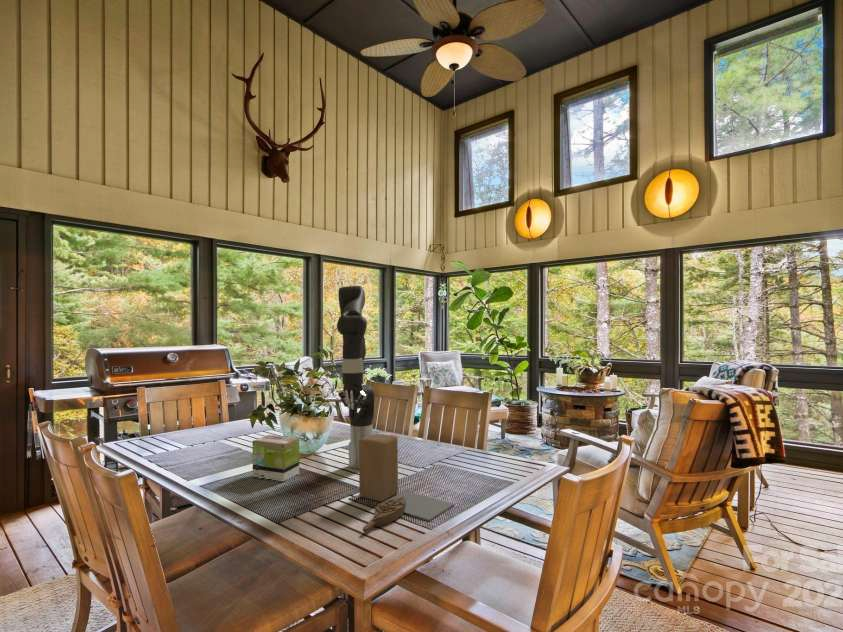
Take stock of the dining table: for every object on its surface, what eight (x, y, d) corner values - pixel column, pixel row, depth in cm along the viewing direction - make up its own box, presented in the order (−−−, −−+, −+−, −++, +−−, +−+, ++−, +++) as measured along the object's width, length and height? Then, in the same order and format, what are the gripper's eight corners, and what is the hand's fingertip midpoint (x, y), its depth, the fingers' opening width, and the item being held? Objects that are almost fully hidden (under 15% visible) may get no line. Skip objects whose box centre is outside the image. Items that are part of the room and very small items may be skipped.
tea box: (251, 478, 174) (251, 440, 174) (268, 470, 183) (268, 434, 183) (284, 483, 168) (283, 443, 169) (300, 474, 178) (299, 436, 178)
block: (381, 503, 148) (381, 442, 149) (358, 497, 154) (357, 438, 154) (399, 493, 157) (398, 435, 157) (376, 488, 162) (375, 432, 162)
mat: (378, 506, 146) (378, 504, 146) (405, 492, 157) (405, 490, 157) (429, 521, 134) (429, 519, 134) (454, 505, 146) (454, 503, 146)
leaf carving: (354, 532, 128) (353, 523, 128) (392, 501, 148) (392, 493, 148) (376, 537, 125) (376, 527, 125) (412, 505, 144) (412, 496, 144)
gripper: (373, 371, 162) (373, 419, 162) (347, 369, 170) (347, 415, 169) (358, 373, 156) (359, 423, 156) (332, 371, 164) (332, 419, 163)
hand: (353, 419), depth 163 cm, fingers closed
